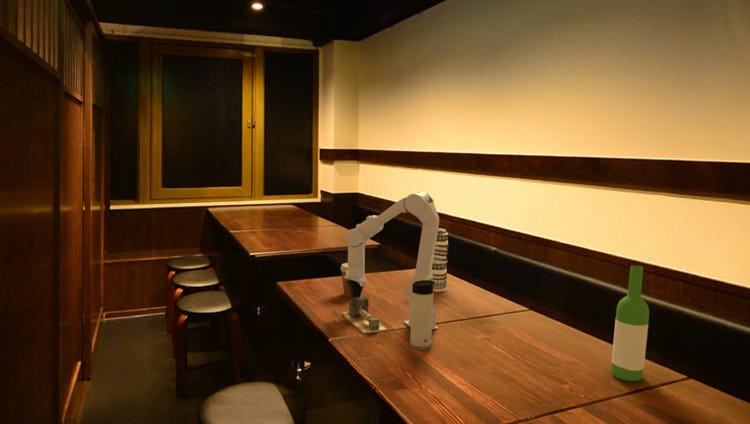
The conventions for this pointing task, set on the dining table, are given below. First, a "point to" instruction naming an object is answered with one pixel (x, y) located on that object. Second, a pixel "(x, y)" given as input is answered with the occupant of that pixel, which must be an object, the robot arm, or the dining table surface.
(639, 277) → the wine bottle
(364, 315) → the pipe stand
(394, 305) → the dining table surface
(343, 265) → the disposable coffee cup
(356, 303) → the grey notched block
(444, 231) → the decorative candle
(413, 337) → the travel mug
